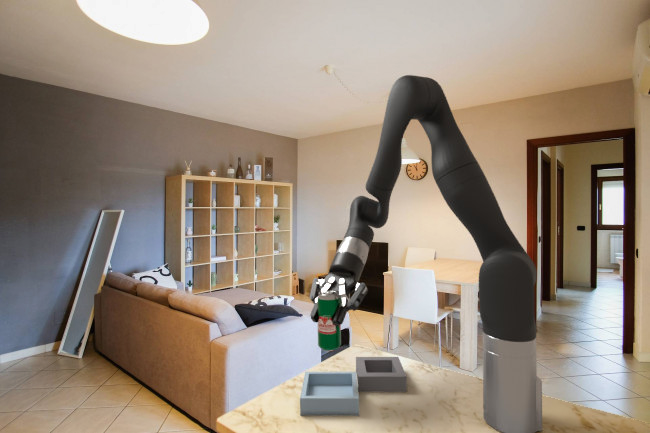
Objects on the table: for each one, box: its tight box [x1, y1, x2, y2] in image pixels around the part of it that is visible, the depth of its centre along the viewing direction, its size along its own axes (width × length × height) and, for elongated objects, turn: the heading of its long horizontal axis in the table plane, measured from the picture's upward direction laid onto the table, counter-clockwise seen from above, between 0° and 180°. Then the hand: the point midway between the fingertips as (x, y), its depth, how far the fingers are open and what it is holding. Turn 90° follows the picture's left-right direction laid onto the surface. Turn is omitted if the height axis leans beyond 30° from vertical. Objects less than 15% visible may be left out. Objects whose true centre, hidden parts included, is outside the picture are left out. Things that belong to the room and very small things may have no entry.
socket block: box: [355, 356, 408, 393], centre depth 86 cm, size 11×11×4 cm
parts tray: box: [299, 371, 360, 417], centre depth 77 cm, size 12×12×4 cm
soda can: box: [317, 291, 342, 351], centre depth 77 cm, size 5×5×12 cm
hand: (324, 322), depth 75 cm, fingers closed on soda can, 5 cm apart
